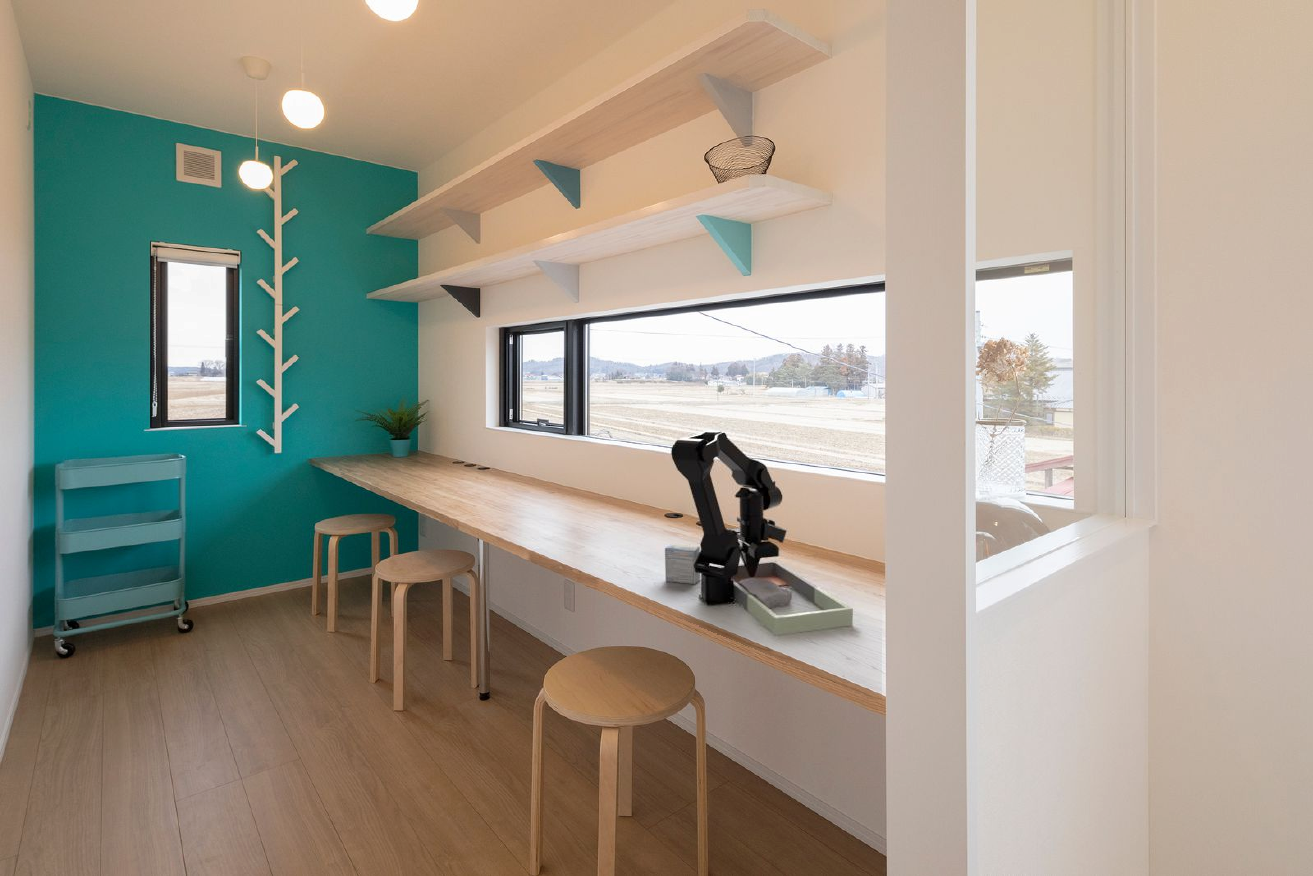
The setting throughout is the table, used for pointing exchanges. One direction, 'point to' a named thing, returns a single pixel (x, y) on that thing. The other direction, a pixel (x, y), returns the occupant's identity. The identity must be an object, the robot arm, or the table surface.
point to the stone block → (767, 592)
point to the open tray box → (782, 576)
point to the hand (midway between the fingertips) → (751, 576)
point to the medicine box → (681, 563)
